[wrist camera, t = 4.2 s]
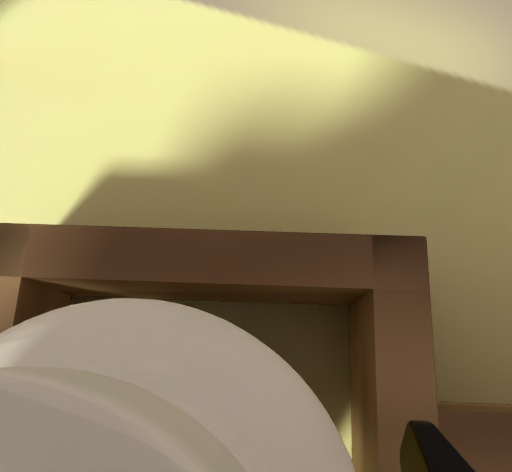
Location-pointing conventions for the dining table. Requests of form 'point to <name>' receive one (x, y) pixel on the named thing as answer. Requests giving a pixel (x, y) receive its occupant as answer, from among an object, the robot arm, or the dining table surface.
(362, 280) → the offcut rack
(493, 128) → the dining table surface
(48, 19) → the dining table surface
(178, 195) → the dining table surface
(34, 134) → the dining table surface
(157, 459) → the supplement bottle
